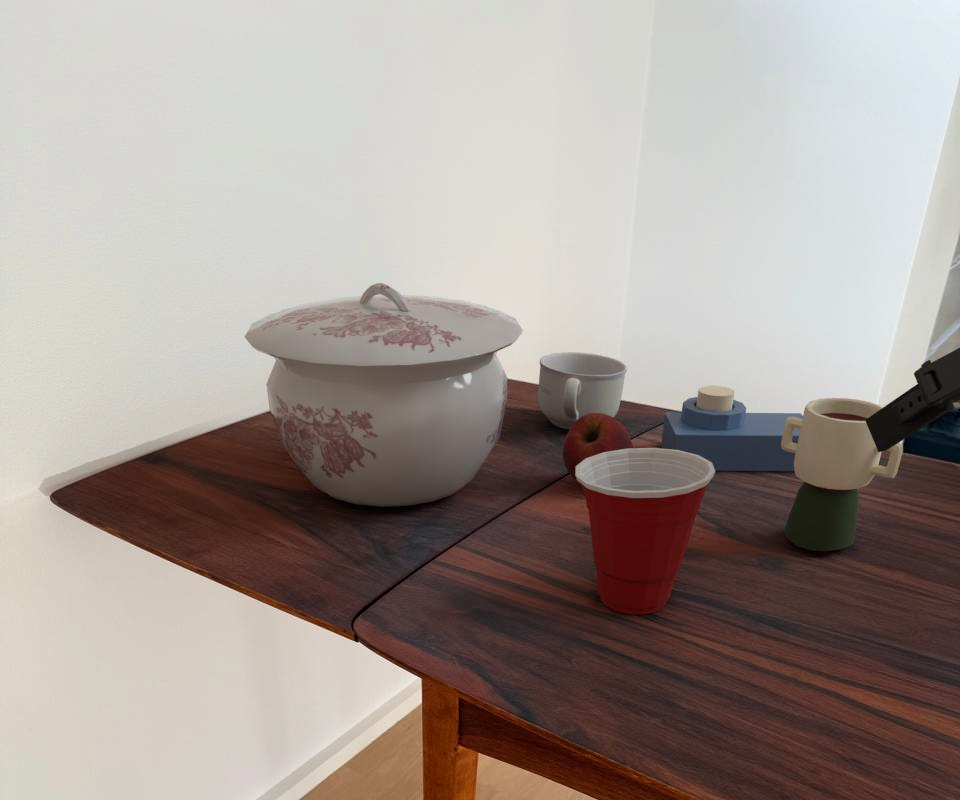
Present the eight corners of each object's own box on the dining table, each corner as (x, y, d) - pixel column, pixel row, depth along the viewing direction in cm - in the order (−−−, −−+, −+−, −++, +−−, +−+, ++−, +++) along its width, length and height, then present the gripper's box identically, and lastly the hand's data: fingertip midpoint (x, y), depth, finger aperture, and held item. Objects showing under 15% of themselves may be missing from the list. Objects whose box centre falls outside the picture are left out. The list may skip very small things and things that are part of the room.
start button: (727, 403, 102) (730, 385, 101) (735, 414, 99) (738, 395, 98) (693, 402, 102) (695, 385, 101) (699, 413, 99) (702, 395, 98)
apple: (546, 485, 96) (548, 413, 92) (589, 466, 101) (594, 397, 96) (600, 504, 91) (606, 430, 87) (643, 483, 96) (651, 412, 92)
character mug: (889, 549, 83) (927, 413, 76) (856, 575, 78) (892, 433, 71) (782, 515, 89) (808, 387, 82) (746, 537, 85) (770, 404, 78)
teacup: (555, 406, 119) (558, 346, 115) (632, 417, 115) (638, 355, 111) (513, 437, 109) (515, 372, 105) (596, 451, 105) (601, 384, 101)
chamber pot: (506, 545, 83) (510, 318, 72) (228, 529, 86) (191, 309, 75) (528, 444, 107) (534, 261, 96) (309, 434, 110) (290, 256, 99)
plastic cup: (610, 557, 81) (621, 431, 75) (717, 593, 76) (739, 459, 69) (541, 602, 74) (547, 467, 68) (654, 645, 68) (672, 502, 62)
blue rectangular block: (793, 445, 106) (802, 396, 103) (813, 471, 99) (824, 419, 96) (660, 444, 107) (666, 395, 104) (671, 470, 100) (677, 418, 96)
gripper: (1122, 320, 44) (837, 493, 64) (1383, 280, 53) (1063, 442, 73) (1061, 192, 45) (799, 400, 65) (1326, 175, 55) (1027, 362, 74)
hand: (938, 423), depth 69 cm, fingers open, 13 cm apart
